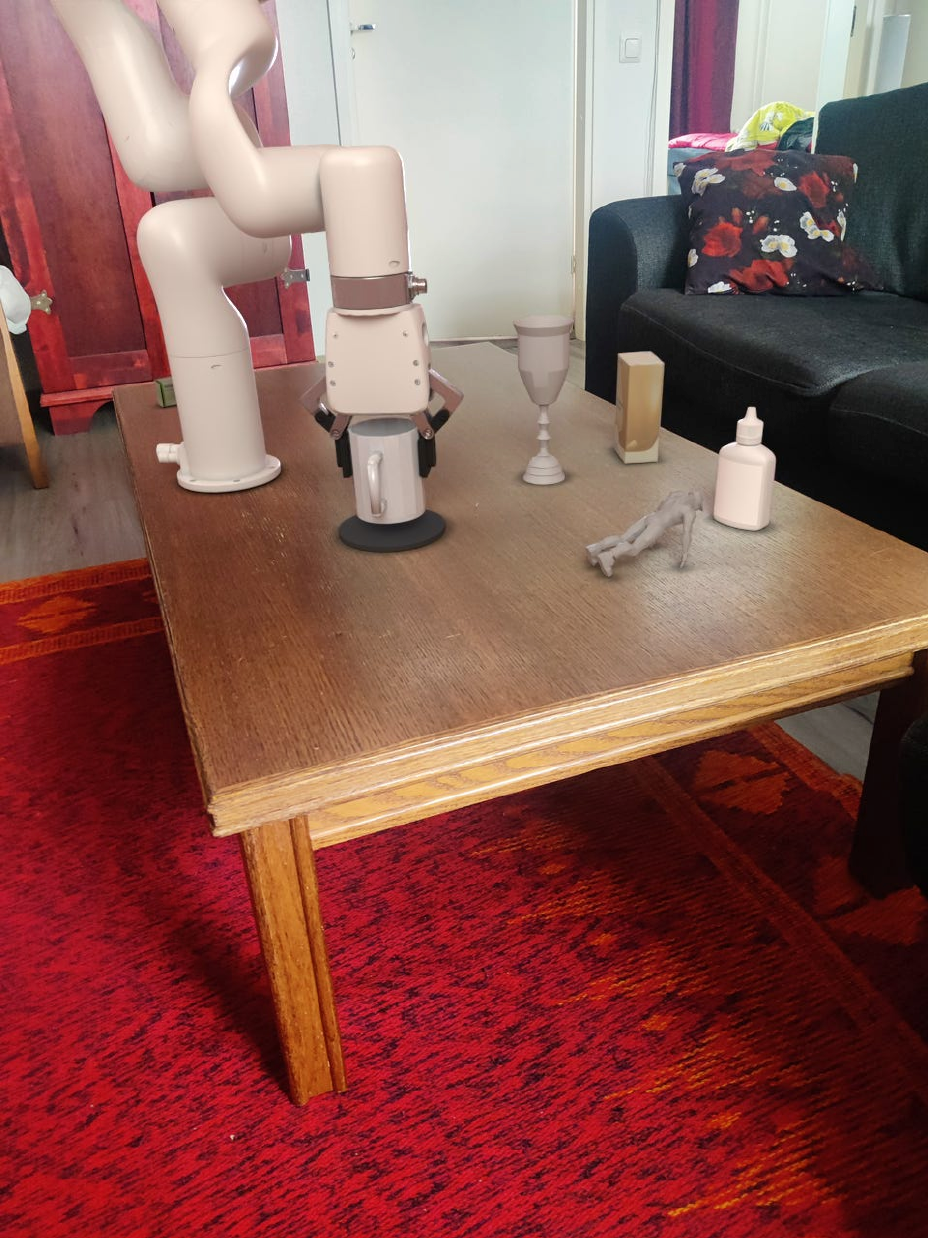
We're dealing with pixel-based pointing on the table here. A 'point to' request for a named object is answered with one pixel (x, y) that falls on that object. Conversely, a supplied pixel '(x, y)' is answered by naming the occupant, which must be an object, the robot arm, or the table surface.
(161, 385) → the medication box
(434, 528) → the coaster
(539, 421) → the chalice
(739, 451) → the eye dropper bottle
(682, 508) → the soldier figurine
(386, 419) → the coffee mug
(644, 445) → the cosmetic box
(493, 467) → the table surface
